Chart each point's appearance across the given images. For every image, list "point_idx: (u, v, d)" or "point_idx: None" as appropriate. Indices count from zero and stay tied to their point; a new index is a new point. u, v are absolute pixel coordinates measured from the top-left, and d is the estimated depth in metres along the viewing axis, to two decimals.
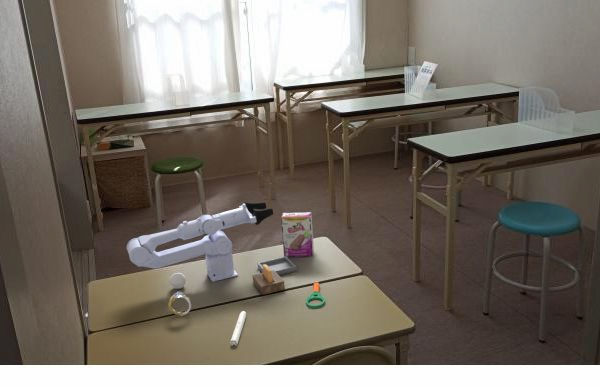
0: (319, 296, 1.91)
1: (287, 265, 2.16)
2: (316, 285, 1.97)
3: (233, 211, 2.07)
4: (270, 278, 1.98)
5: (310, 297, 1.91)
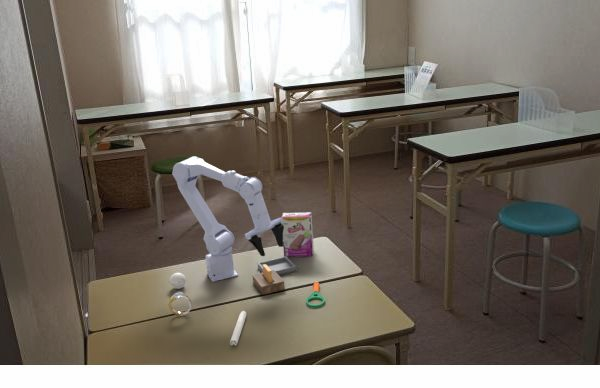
0: (319, 296, 1.91)
1: (287, 265, 2.16)
2: (316, 285, 1.97)
3: (261, 215, 1.96)
4: (270, 278, 1.98)
5: (310, 297, 1.91)
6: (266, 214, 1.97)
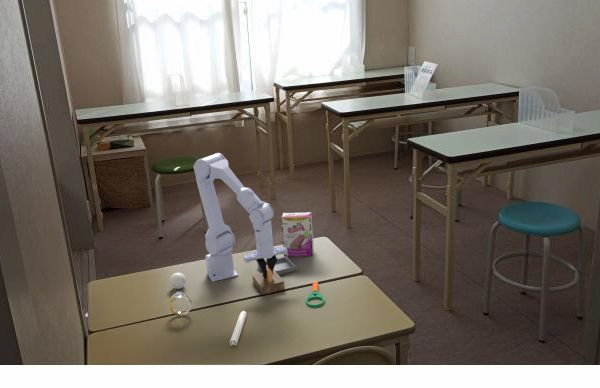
0: (319, 295, 1.91)
1: (287, 265, 2.16)
2: (315, 284, 1.98)
3: (264, 244, 1.94)
4: (270, 278, 1.98)
5: (310, 296, 1.91)
6: (270, 243, 1.95)
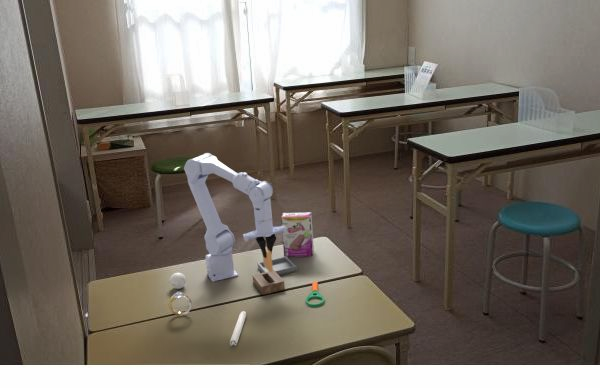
0: (318, 295, 1.92)
1: (287, 265, 2.16)
2: (315, 284, 1.98)
3: (263, 222, 1.94)
4: (269, 259, 1.98)
5: (309, 296, 1.91)
6: (269, 222, 1.95)
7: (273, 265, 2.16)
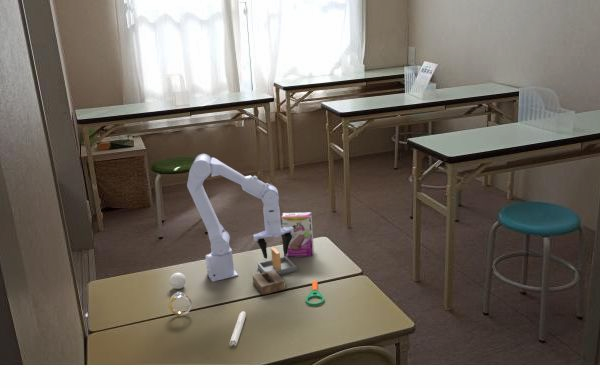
0: (318, 294, 1.92)
1: (287, 265, 2.16)
2: (314, 283, 1.98)
3: (272, 223, 2.06)
4: (278, 260, 2.10)
5: (309, 295, 1.92)
6: (277, 223, 2.06)
7: None
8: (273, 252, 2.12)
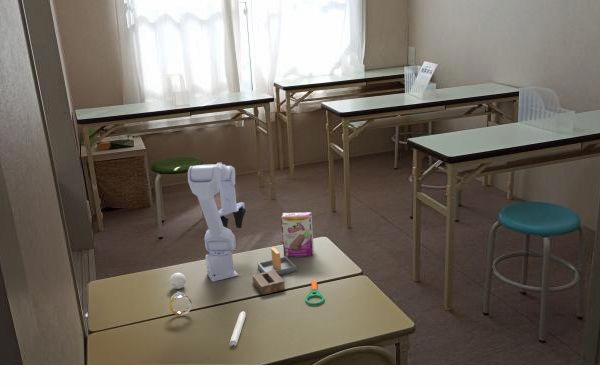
0: (318, 294, 1.92)
1: (287, 265, 2.16)
2: (314, 283, 1.99)
3: (231, 199, 2.19)
4: (278, 260, 2.10)
5: (309, 295, 1.92)
6: (235, 198, 2.21)
7: None
8: (273, 252, 2.12)
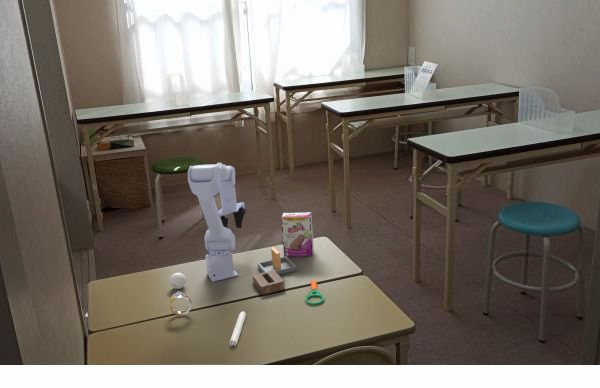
0: (318, 293, 1.92)
1: (287, 265, 2.16)
2: (314, 283, 1.99)
3: (231, 199, 2.19)
4: (278, 260, 2.10)
5: (309, 295, 1.92)
6: (235, 198, 2.21)
7: None
8: (273, 252, 2.12)
